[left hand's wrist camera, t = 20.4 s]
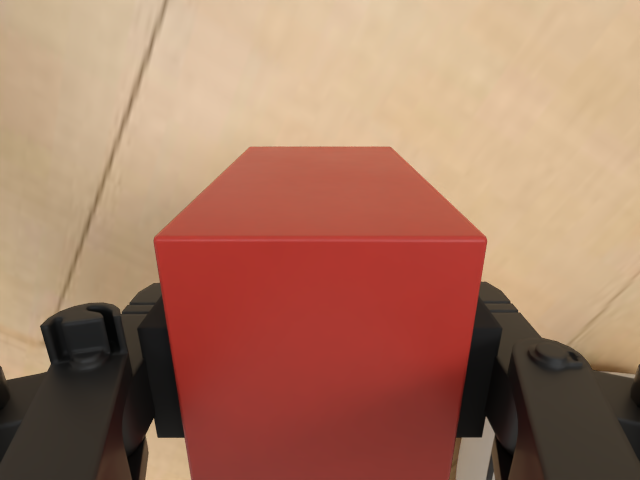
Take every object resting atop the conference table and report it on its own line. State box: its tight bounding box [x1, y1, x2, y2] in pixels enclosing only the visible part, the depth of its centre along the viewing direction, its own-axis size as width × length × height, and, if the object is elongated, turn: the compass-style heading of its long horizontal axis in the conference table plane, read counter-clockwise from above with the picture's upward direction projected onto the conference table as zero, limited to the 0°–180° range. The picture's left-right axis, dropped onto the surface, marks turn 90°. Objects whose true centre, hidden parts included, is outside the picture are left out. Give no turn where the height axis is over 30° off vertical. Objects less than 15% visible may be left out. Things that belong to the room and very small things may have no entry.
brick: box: [154, 147, 487, 480], centre depth 12 cm, size 7×5×10 cm
